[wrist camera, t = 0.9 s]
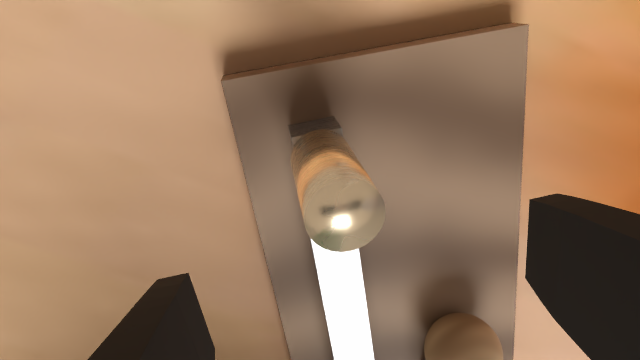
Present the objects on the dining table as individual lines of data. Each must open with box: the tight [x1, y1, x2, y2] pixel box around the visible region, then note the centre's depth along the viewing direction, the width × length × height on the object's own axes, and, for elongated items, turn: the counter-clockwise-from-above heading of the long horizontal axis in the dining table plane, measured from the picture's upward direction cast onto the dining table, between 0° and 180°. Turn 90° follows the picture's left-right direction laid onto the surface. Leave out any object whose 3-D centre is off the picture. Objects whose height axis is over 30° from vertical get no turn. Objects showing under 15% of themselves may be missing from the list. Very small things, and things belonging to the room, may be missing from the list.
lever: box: [288, 116, 386, 360], centre depth 17 cm, size 16×2×6 cm, turn 9°
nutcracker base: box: [221, 23, 529, 360], centre depth 19 cm, size 20×12×4 cm, turn 9°
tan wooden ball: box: [424, 313, 503, 360], centre depth 20 cm, size 4×4×4 cm
